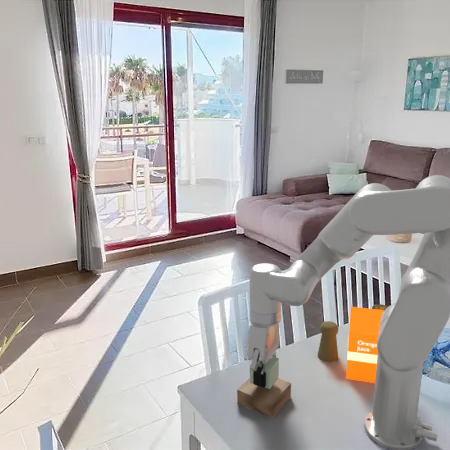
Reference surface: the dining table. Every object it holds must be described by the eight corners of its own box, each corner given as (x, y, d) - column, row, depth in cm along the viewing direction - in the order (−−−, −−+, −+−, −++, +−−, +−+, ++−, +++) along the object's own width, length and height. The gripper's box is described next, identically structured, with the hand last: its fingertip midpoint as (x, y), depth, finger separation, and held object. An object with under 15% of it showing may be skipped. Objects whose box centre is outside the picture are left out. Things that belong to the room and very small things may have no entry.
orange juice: (346, 363, 134) (350, 300, 128) (378, 367, 131) (384, 304, 126) (345, 379, 126) (350, 313, 121) (379, 384, 124) (385, 317, 118)
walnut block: (290, 398, 120) (291, 383, 118) (271, 419, 112) (271, 404, 110) (257, 384, 125) (257, 370, 124) (237, 404, 117) (237, 389, 116)
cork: (336, 351, 140) (338, 318, 137) (339, 362, 134) (341, 328, 131) (316, 350, 140) (318, 318, 137) (318, 361, 135) (320, 328, 131)
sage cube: (278, 377, 118) (278, 358, 116) (270, 389, 113) (270, 369, 112) (258, 371, 120) (258, 353, 119) (249, 383, 116) (249, 364, 114)
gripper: (264, 297, 120) (264, 358, 126) (235, 326, 106) (236, 393, 111) (291, 303, 117) (290, 365, 122) (265, 333, 103) (264, 402, 108)
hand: (264, 378), depth 116 cm, fingers closed on sage cube, 5 cm apart
